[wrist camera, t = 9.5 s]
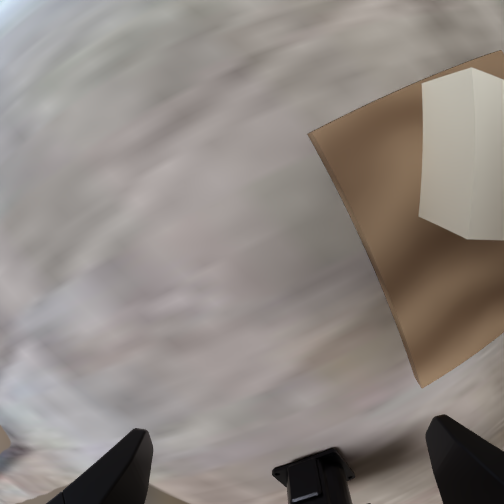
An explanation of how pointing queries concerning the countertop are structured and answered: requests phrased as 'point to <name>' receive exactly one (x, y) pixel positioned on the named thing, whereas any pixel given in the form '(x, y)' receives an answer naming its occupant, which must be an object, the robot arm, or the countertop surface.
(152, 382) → the countertop surface
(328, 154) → the base board
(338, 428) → the countertop surface
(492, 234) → the white slotted box
